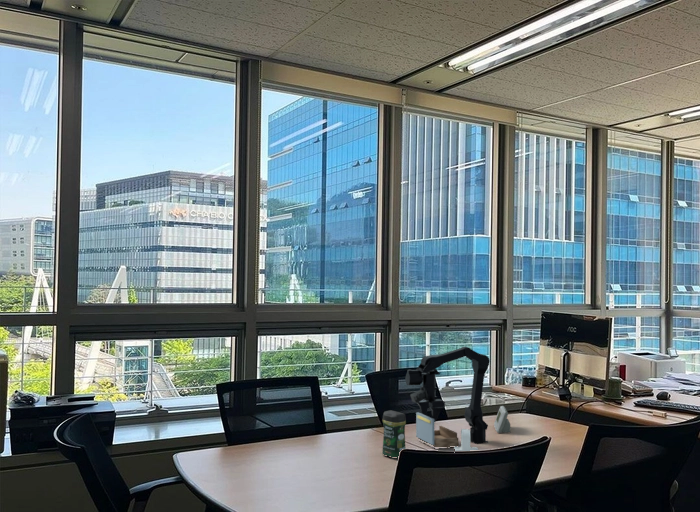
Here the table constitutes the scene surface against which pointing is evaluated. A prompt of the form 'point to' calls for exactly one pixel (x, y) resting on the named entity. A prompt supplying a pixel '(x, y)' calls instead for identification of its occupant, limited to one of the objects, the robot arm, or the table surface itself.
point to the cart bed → (444, 437)
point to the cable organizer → (465, 441)
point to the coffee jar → (393, 433)
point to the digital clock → (502, 421)
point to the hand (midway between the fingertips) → (428, 420)
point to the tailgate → (425, 428)
